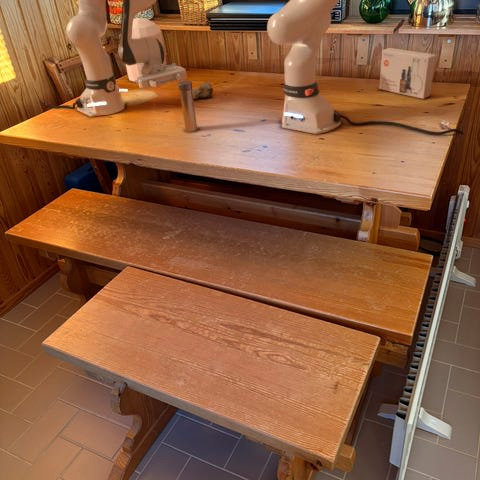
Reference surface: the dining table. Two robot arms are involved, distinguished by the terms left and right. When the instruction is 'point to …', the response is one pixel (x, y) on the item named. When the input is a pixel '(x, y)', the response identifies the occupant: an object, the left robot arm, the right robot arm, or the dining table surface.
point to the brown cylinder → (188, 110)
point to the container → (143, 30)
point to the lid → (184, 85)
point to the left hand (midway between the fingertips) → (168, 81)
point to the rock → (203, 91)
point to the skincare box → (407, 72)
